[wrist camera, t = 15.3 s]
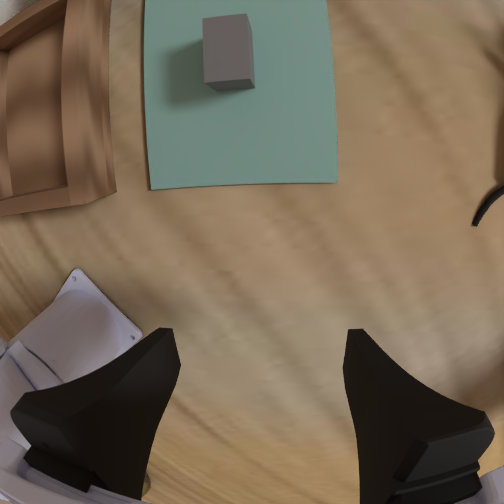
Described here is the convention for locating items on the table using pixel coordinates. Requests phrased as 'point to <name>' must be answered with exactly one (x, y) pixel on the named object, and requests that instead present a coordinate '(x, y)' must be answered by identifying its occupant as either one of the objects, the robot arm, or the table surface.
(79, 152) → the wooden tray
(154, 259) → the table surface
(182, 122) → the lid
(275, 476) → the table surface
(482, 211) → the bike brake
